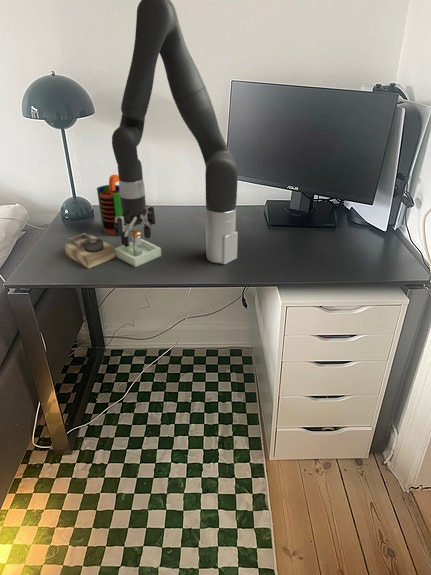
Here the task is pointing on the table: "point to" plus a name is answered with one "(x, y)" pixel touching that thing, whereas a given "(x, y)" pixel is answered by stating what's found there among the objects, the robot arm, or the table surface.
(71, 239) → the pulley block
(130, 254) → the tray
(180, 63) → the robot arm
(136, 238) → the pin
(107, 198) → the motor
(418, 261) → the table surface
